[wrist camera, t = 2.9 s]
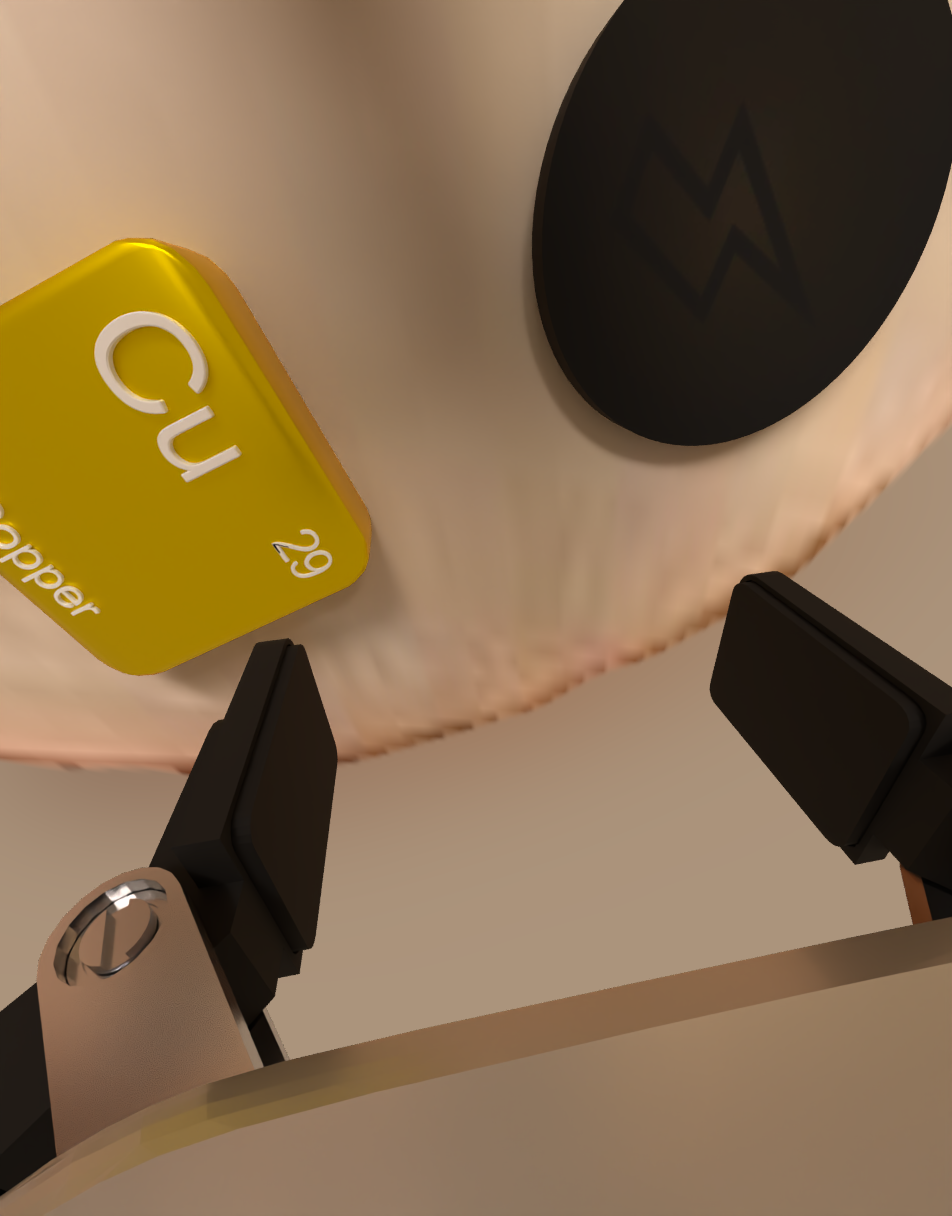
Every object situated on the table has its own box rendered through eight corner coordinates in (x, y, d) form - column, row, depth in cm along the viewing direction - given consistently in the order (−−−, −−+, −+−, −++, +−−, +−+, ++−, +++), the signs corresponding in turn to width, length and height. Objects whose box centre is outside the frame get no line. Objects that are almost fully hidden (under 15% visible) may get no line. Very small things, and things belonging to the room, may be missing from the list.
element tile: (-93, 394, 21) (-210, 414, 17) (204, 229, 20) (156, 207, 15) (161, 643, 29) (124, 696, 25) (386, 537, 27) (384, 576, 23)
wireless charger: (808, 443, 28) (834, 451, 26) (510, 430, 25) (518, 438, 24) (999, -24, 19) (1058, -56, 17) (566, -126, 16) (586, -177, 14)
